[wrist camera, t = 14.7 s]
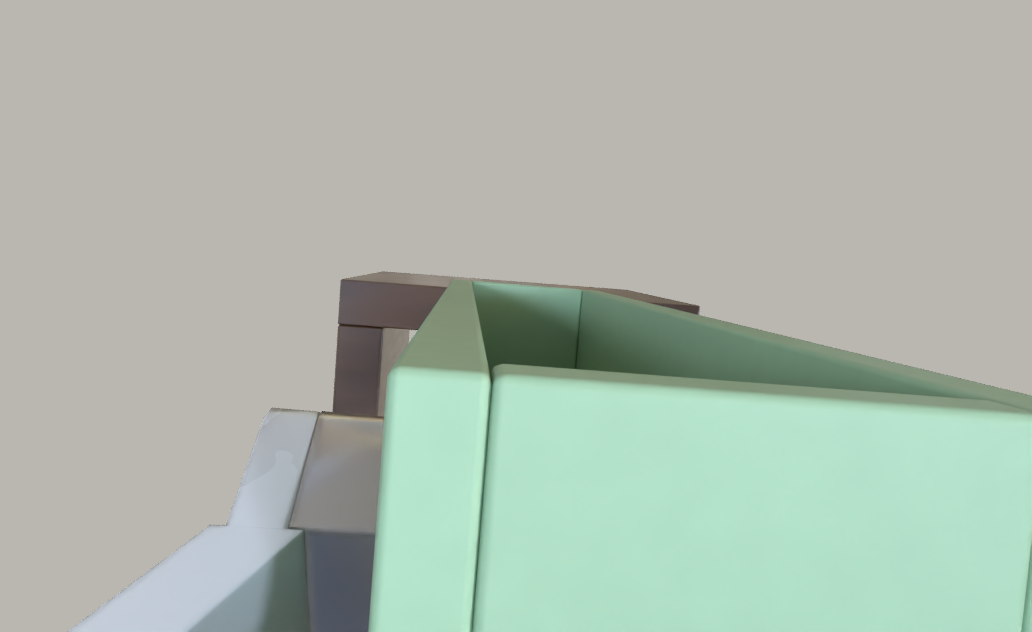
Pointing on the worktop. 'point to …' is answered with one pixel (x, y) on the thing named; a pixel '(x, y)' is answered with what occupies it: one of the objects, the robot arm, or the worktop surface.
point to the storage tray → (687, 478)
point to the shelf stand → (401, 329)
